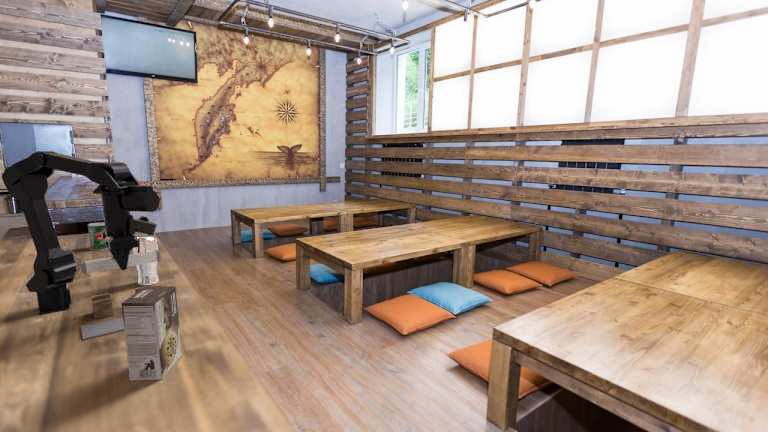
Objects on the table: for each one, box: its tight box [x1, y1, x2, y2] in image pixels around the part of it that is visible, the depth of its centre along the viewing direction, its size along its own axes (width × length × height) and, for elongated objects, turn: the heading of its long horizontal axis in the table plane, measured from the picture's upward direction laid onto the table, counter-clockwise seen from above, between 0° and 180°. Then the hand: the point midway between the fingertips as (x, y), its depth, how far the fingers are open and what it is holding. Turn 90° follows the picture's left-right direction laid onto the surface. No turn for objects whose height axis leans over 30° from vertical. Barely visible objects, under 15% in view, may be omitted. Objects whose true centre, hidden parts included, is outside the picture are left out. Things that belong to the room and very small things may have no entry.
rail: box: [80, 249, 161, 275], centre depth 102 cm, size 17×3×3 cm, turn 131°
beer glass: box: [132, 236, 160, 286], centre depth 127 cm, size 7×7×15 cm
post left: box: [91, 292, 114, 320], centre depth 103 cm, size 4×5×5 cm
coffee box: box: [120, 285, 183, 382], centre depth 78 cm, size 9×6×16 cm
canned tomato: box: [87, 221, 109, 251], centre depth 170 cm, size 8×8×11 cm
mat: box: [80, 316, 125, 341], centre depth 99 cm, size 20×8×1 cm, turn 130°
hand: (123, 268), depth 103 cm, fingers closed on rail, 3 cm apart
